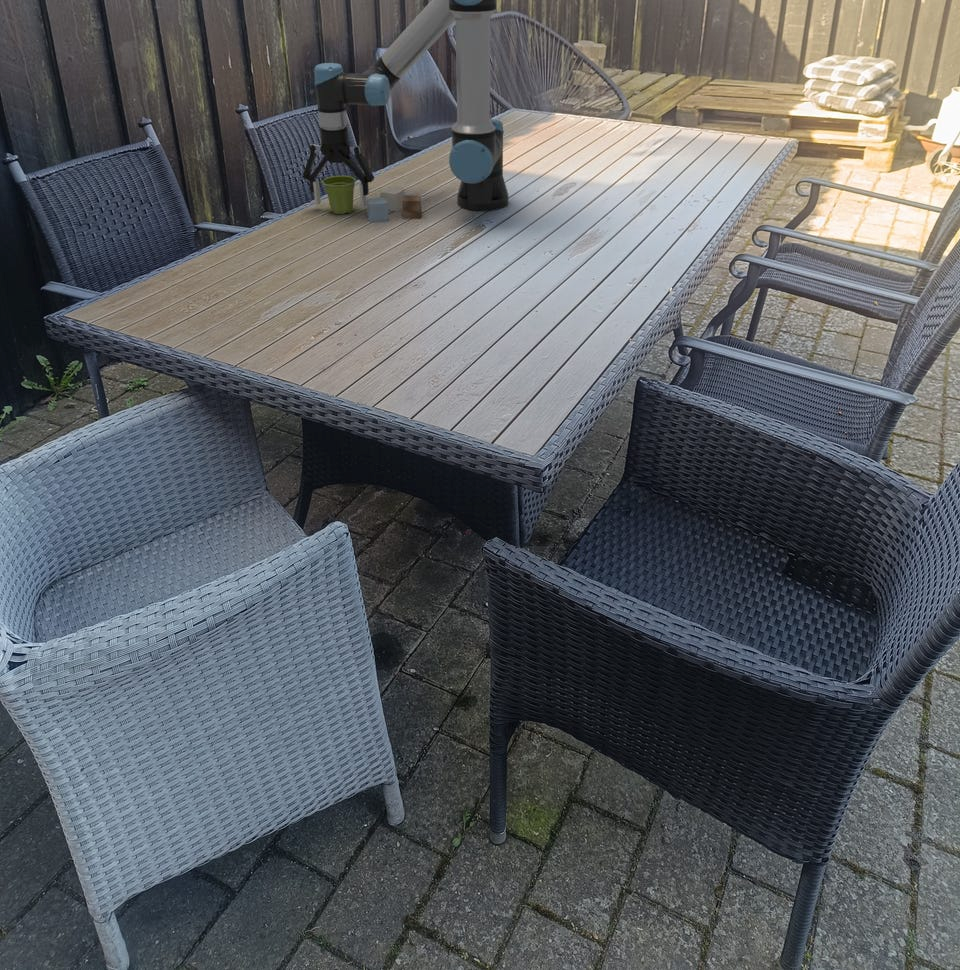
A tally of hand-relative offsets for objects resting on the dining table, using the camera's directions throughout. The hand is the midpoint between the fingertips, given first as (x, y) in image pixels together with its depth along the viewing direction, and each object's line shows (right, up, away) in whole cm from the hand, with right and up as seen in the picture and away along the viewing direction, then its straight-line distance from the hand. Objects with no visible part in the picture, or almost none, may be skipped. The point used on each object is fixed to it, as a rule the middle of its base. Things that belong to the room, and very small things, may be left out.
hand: (341, 205), depth 242 cm
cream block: (+15, 0, +3) cm, 15 cm away
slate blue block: (+11, -5, -5) cm, 13 cm away
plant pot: (0, -2, +1) cm, 2 cm away
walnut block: (+21, -4, -3) cm, 21 cm away
